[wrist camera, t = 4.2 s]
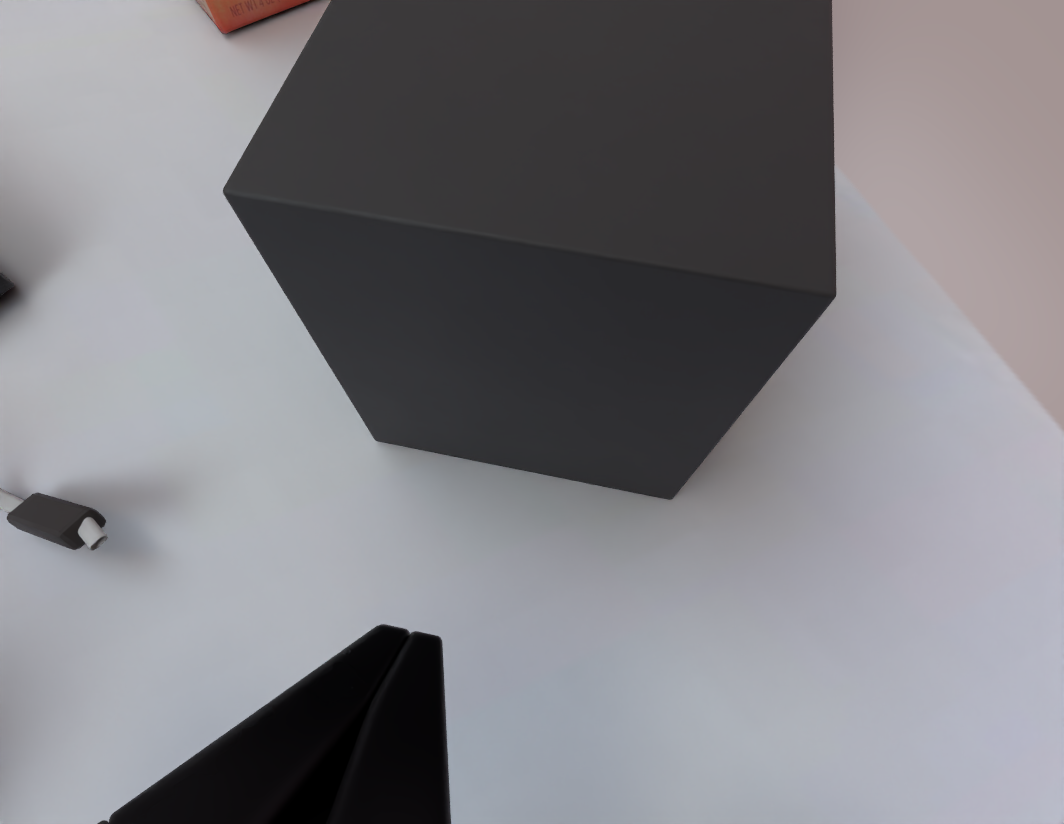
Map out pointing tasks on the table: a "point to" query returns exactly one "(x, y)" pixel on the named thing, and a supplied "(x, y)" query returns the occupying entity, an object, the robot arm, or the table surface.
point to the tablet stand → (4, 284)
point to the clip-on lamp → (55, 520)
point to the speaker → (553, 220)
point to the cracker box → (243, 11)
